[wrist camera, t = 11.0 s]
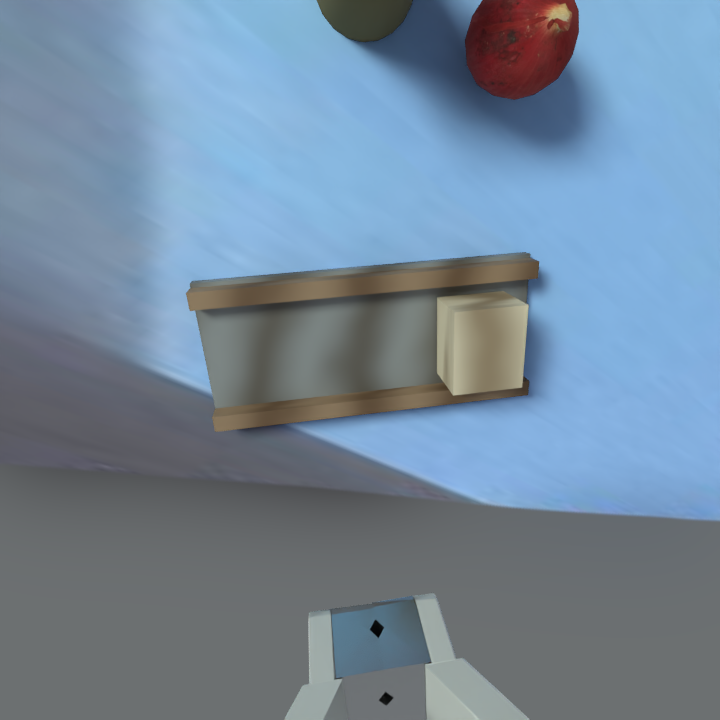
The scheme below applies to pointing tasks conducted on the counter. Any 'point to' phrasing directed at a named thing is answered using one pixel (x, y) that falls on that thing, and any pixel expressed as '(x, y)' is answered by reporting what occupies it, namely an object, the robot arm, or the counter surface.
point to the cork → (365, 17)
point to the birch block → (481, 342)
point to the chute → (338, 338)
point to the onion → (520, 44)
